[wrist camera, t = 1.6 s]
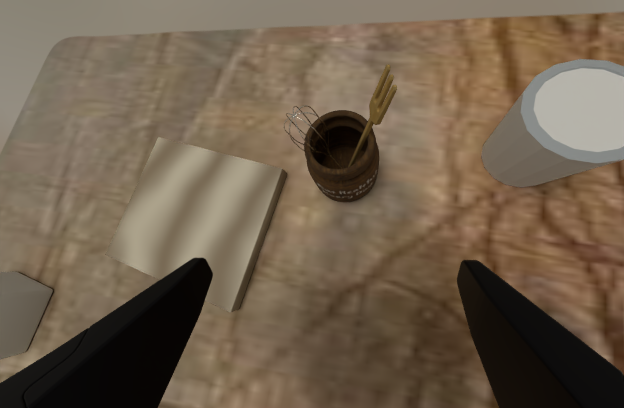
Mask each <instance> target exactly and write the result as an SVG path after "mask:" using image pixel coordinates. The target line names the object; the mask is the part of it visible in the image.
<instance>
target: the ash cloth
mask: <svg viewBox="0 0 624 408" xmlns="http://www.w3.org/2000/svg"><path fill="white" fill-rule="evenodd" d="M286 176H287V173H286V172H285V171H284V170H283V169H282V168H278V167H274V166H270V165H266V164H262V163H258V162H254V161H251V160H247V159H243V158H239V157H235V156H231V155H227V154H223V153H219V152H215V151H211V150H207V149H203V148H200V147H196V146H192V145H188V144H184V143H180V142H176V141H172V140H168V139H164V138H160V137H158V139H157V142H156V144H155V146H154V148H153V150H152V153H151V155H150V157H149V159H148V161H147V164H146V166H145V168H144V170H143V173H142V175H141V177H140V179H139V181H138V184H137V186H136V188H135V190H134V192H133V195H132V197H131V199H130V201H129V203H128V206H127V208H126V210H125V212H124V215H123V217H122V219H121V221H120V223H119V226H118V228H117V230H116V232H115V234H114V237H113V239H112V241H111V243H110V245H109V248H108V250H107V252H106V254H105V255H107V256H109V257H112V258H114V259H116V260H118V261H120V262H122V263H125V264H127V265H129V266H131V267H133V268H135V269H138V270H140V271H142V272H144V273H146V274H148V275H151V276H153V277H155V278H157V279H159V280H161V279H162V278H164V277H165V276H167V275H168V274H170V273H171V272H173V271H174V270H176V269H177V268H179V267H180V266H182V265H183V264H185V263H186V262H188V261H189V260H191V259H192V258H205V259H206V260H207V262H208V264H209V266H210V268H211V270H212V272H213V278H212V281H211V284H210V287H209V290H208V293H207V296H206V298H205V301H207V302H209V303H211V304H213V305H215V306H218V307H220V308H222V309H224V310H226V311H228V312H233V311H236V310H238V309H239V308H240V305H241V302H242V299H243V296H244V294H245V291H246V288H247V285H248V282H249V280H250V277H251V274H252V271H253V268H254V266H255V263H256V260H257V257H258V254H259V252H260V249H261V246H262V243H263V240H264V238H265V235H266V232H267V229H268V226H269V223H270V221H271V218H272V215H273V212H274V209H275V207H276V204H277V201H278V198H279V195H280V193H281V190H282V187H283V184H284V181H285V179H286Z"/></svg>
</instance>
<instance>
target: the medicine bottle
mask: <svg viewBox="0 0 624 408" xmlns="http://www.w3.org/2000/svg"><path fill="white" fill-rule="evenodd" d="M52 292H53V290H52V289H51V288H49V287H47V286H45V285H43V284H41V283H39V282H37V281H35V280H33V279H31V278H29V277H27V276H25V275H23V274H20V273H18V272H0V359H3V358H7V357H11V356H14V355H18V354H22V353H24V352H26V350H27V349H28V347H29V344H30V342H31V340H32V338H33V335H34V333H35V331H36V329H37V326H38V324H39V322H40V320H41V317H42V315H43V313H44V311H45V308H46V306H47V304H48V302H49V299H50V297H51V295H52Z"/></svg>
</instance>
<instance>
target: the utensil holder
mask: <svg viewBox="0 0 624 408" xmlns="http://www.w3.org/2000/svg"><path fill="white" fill-rule="evenodd" d="M389 71H390V65H386V67H385V69H384V72H383V74H382V76H381V78H380V81H379V83H378V85H377V88H376V90H375V92H374V94H373V97H372V99H371V101H370V105H369V108H370V118H369V120H368V121H367V120H366V119H365V118H364V117H362V116H361V115H359V114H357V113H355V112H352V111H346V110H338V111H333V112H330V113H327V114H325V115H323V116H321V117H320V118H319V116H318V115H317V114H316V112H315V111H314V110H313V109H312V108H311V107H310V106H308V107H310V108H311V109H312V110H313V111H314V112H315V114H316V116H317V117H318V119H317V120H316V121H315V122H314V123H313V124H311V123H310V124H311V125H309V124H308V123H307V122H305V121H304V120H302V119H301V118H299V117H297V116H295V115H298V114H302V113H303V112H302V111H301V110H300V108H302V107H304V106H302V107H300V108H298V107H297V106H294V107H297V108H298V110H300V111H301V112H302V113H298V114H296V112H297V111H298V110H297V111H296V112H295V114H294V107H293V114H290V113H286V116H287V114H290V115H293V116H291V117H292V119H293V117H294V120H295V117H297V118H299V119H301V120H302V121H304V122H305V123H307V124H308V125H309V126H311V127H310V128H309V130H308V132H307V134H305V135H306V137H305V139H304V138H303V137H302V138H303V139H304V141H305V143H304V144H303V145H304V149H305V150H303V149H302V150H303V151H305V156H306V159H307V166H308V170H309V172H310V175H311V176H312V178H313V180H314V182H315V183H316V185H317V186H318V188H319V189H320V190H321V191H322V192H323V193H324V194H325V195H326V196H328V197H329V198H331V199H333V200H336V201H340V202H350V201H354V200H357V199H359V198H361V197H363V196H364V195H365V194H367V193H368V192H369V191H370V189H371V188H372V186H373V185H374V183H375V180H376V177H377V172H378V165H379V150H378V146H377V143H376V138H375V135H374V132H373V129H372V126H373V124H375V125H378V124H380V123H381V121H382V119H383V117H384V115H385V113H386V111H387V109H388V107H389V105H390V103H391V101H392V99H393V96H394V94H395V92H396V90H397V86H396V85H393V86H392V88H391V90H390V92H389V94H388V96H387V97H386V95H387V93H388V91H389V88H390V86H391V84H392V81H393V78H394V77H393V75H389V77H388V79H387V81H386V78H387V76H388V73H389ZM385 81H386V84H385V86H384V83H385ZM383 86H384V88H383ZM382 89H383V90H382ZM381 91H382V92H381ZM385 97H386V99H385ZM384 100H385V101H384ZM383 102H384V103H383ZM382 104H383V105H382ZM304 113H308V112H304ZM304 113H303V115H304ZM309 114H313V113H309ZM315 114H313V115H315ZM304 116H305V115H304ZM287 117H288V116H287ZM291 117H289V118H291ZM305 117H306V116H305ZM289 118H288V119H289ZM306 118H307V117H306ZM288 119H287V120H288ZM292 119H291V120H290V119H289V120H290V121H291V122H292ZM287 120H286V121H287ZM307 120H308V118H307ZM286 121H285V122H286ZM308 121H309V120H308ZM291 122H290V125H291ZM309 122H310V121H309ZM292 123H293V122H292ZM295 123H296V121H295ZM293 124H294V123H293ZM284 125H285V123H284ZM294 125H295V124H294ZM295 126H296V127H297V129H298V131H299V130H300V129H299V128H298V126H297V124H296V125H295ZM284 130H285V127H284ZM285 131H286V130H285ZM300 131H301V130H300ZM300 131H299V133H300ZM286 132H287V131H286ZM301 132H302V131H301ZM287 133H288V132H287ZM302 133H303V132H302ZM288 134H289V135H290V126H289V133H288ZM303 134H304V133H303ZM300 135H301V133H300ZM301 136H302V135H301ZM291 137H292V136H291V135H290V138H291ZM292 138H293V137H292ZM292 138H291V140H292ZM293 139H294V138H293ZM294 140H295V139H294ZM292 141H293V140H292ZM295 141H296V140H295ZM293 142H294V141H293ZM297 142H298V141H297ZM294 143H295V142H294ZM298 143H300V142H298ZM295 144H296V143H295ZM300 144H302V143H300ZM296 145H297V144H296ZM297 146H298V145H297ZM298 147H299V146H298ZM299 148H300V147H299ZM300 149H301V148H300Z"/></svg>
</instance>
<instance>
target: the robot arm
mask: <svg viewBox="0 0 624 408" xmlns="http://www.w3.org/2000/svg"><path fill="white" fill-rule="evenodd" d="M212 278H213V272H212V270H211V268H210V266H209V264H208V262H207V260H206V259H205V258H192V259H191V260H189V261H188V262H186V263H185V264H183V265H182V266H180V267H179V268H177V269H176V270H174V271H173V272H171V273H170V274H168V275H167V276H165V277H164V278H162V279H161V280H159V281H158V282H156V283H155V284H153V285H152V286H150V287H149V288H147V289H146V290H144V291H143V292H141V293H140V294H138V295H137V296H135V297H134V298H132V299H131V300H129V301H128V302H126V303H125V304H123V305H122V306H120V307H119V308H117V309H116V310H114V311H113V312H111V313H110V314H108V315H107V316H105V317H104V318H102V319H101V320H99V321H98V322H96V323H95V324H93V325H92V326H90V328H87V329H86V330H84V331H83V332H81V333H80V334H78V335H77V336H75V337H74V338H72V339H71V340H69V341H68V342H66V343H64V344H63V345H61V346H60V347H58V348H57V349H55V350H54V351H52V352H50V353H49V354H47V355H46V356H44V357H42V358H41V359H39V360H37V361H36V362H34V363H33V364H31V365H29V366H28V367H26V368H24V369H23V370H21V371H20V372H18V373H16V374H15V375H13V376H11V377H10V378H8V379H6V380H5V381H3V382H1V383H0V408H158V406H159V404H160V401H161V399H162V397H163V395H164V393H165V390H166V388H167V386H168V384H169V382H170V379H171V377H172V375H173V373H174V371H175V368H176V366H177V364H178V362H179V360H180V358H181V355H182V353H183V351H184V349H185V347H186V344H187V342H188V340H189V338H190V336H191V333H192V331H193V329H194V327H195V325H196V322H197V320H198V318H199V315H200V313H201V310H202V307H203V304H204V301H205V298H206V296H207V293H208V290H209V287H210V284H211V281H212ZM457 284H458V288H459V292H460V296H461V299H462V303H463V307H464V311H465V315H466V318H467V322H468V326H469V329H470V333H471V336H472V338H473V341H474V344H475V346H476V349H477V352H478V354H479V357H480V359H481V362H482V364H483V367H484V370H485V372H486V375H487V377H488V380H489V382H490V385H491V388H492V390H493V393H494V395H495V398H496V400H497V403H498V406H499V408H624V375H623V373H622V372H621V371H620V370H619V369H617V368H616V367H615V366H614V365H612V364H611V363H610V362H608V361H607V360H606V359H604V358H603V357H602V356H601V355H599V354H598V353H597V352H595V351H594V350H593V349H592V348H590V347H589V346H588V345H586V344H585V343H584V342H583V341H581V340H580V339H579V338H577V337H576V336H575V335H574V334H572V333H571V332H570V331H568V330H567V329H566V328H565V327H563V326H562V325H561V324H559V323H558V322H557V321H556V320H554V319H553V318H552V317H550V316H549V315H548V314H546V313H545V312H544V311H543V310H541V309H540V308H539V307H537V306H536V305H535V304H534V303H532V302H531V301H530V300H528V299H527V298H526V297H525V296H523V295H522V294H521V293H519V292H518V291H517V290H516V289H514V288H513V287H512V286H510V285H509V284H508V283H507V282H505V281H504V280H503V279H501V278H500V277H499V276H498V275H496V274H495V273H494V272H492V271H491V270H490V269H489V268H487V267H486V266H485V265H483V264H482V263H481V262H479V261H477V260H463V261H462V262H461V265H460V269H459V273H458V277H457Z"/></svg>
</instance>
